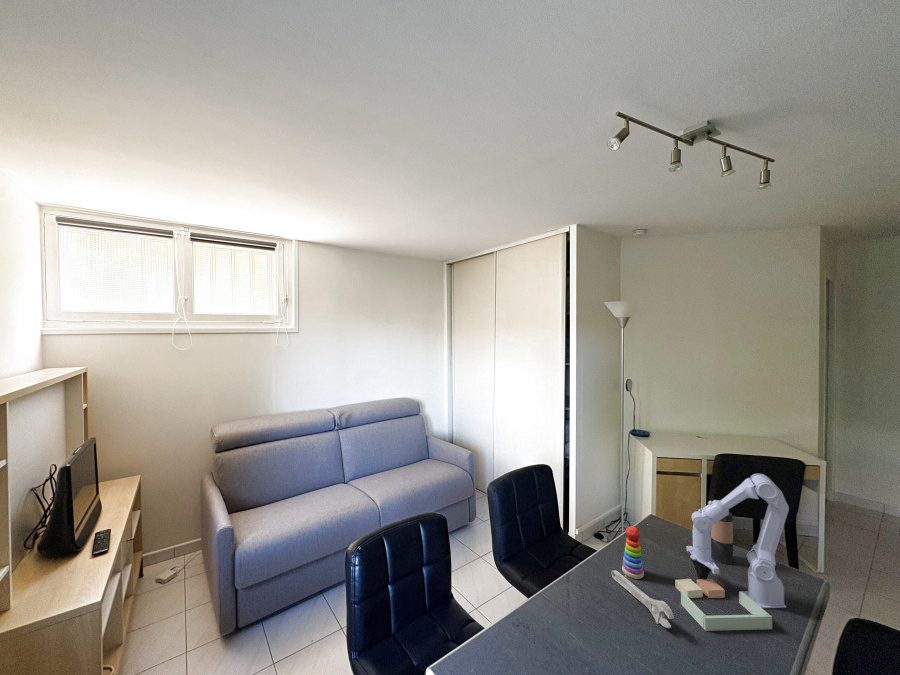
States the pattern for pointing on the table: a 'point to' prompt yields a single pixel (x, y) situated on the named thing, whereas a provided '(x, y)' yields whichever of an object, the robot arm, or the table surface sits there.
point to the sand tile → (689, 588)
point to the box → (731, 616)
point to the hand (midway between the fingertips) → (702, 580)
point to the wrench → (646, 600)
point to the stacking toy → (633, 555)
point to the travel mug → (722, 540)
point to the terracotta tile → (711, 588)
